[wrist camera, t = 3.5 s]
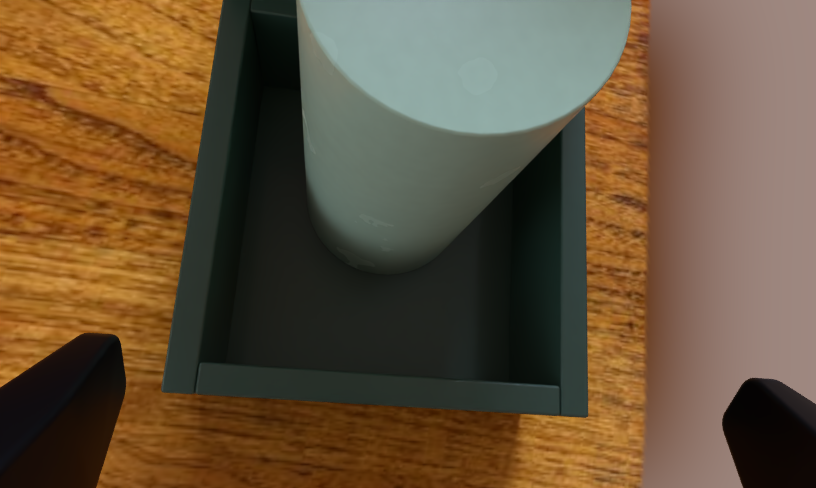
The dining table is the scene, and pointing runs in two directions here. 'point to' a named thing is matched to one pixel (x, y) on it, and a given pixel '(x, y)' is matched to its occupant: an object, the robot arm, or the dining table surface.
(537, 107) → the pale green cylinder
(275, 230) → the box
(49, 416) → the robot arm
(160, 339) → the dining table surface
